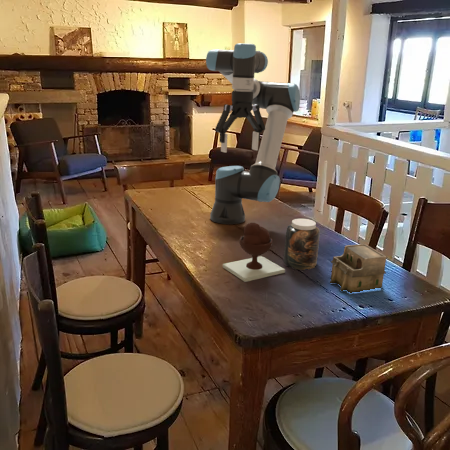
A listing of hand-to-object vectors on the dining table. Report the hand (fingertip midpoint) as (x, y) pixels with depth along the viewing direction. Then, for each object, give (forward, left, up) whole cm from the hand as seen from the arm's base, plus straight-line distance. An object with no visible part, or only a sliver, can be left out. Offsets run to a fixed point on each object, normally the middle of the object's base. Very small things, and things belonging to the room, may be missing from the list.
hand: (239, 151), depth 180 cm
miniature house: (-13, +50, -35) cm, 62 cm away
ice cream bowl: (+10, +26, -34) cm, 44 cm away
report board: (+10, +27, -35) cm, 45 cm away
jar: (-8, +29, -35) cm, 46 cm away
